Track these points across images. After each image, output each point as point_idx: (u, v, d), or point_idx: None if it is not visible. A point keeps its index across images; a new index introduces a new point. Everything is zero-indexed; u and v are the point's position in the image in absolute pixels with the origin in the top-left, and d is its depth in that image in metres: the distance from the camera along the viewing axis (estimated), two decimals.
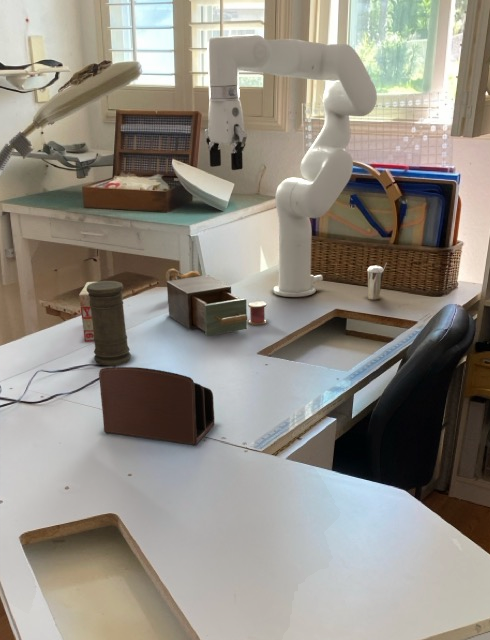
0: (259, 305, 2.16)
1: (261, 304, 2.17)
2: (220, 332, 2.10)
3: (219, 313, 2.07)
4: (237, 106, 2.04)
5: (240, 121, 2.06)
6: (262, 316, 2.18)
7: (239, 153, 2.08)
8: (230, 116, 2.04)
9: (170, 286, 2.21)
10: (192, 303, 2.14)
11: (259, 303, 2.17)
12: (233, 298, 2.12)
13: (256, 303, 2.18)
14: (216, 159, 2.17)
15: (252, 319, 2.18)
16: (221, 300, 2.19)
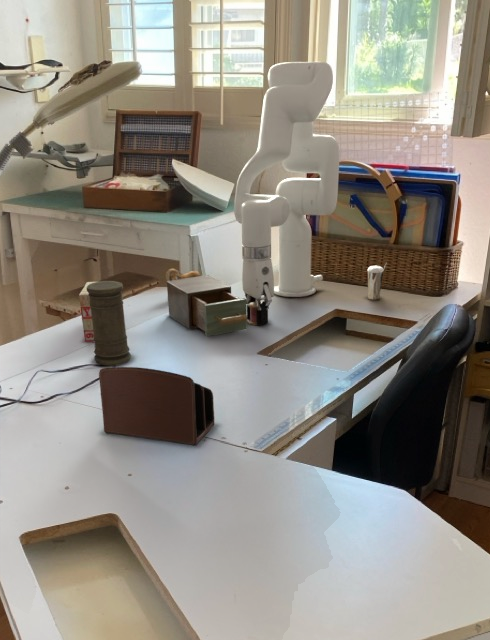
0: None
1: None
2: (220, 332, 2.10)
3: (219, 313, 2.07)
4: (267, 265, 2.08)
5: (270, 279, 2.10)
6: None
7: (264, 310, 2.15)
8: (260, 275, 2.09)
9: (170, 286, 2.21)
10: (192, 303, 2.14)
11: None
12: (233, 298, 2.12)
13: (256, 303, 2.18)
14: None
15: (252, 319, 2.18)
16: (221, 300, 2.19)
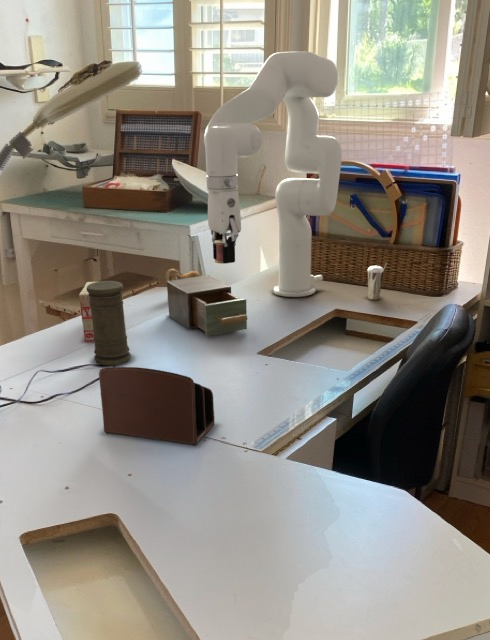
0: None
1: None
2: (220, 332, 2.10)
3: (219, 313, 2.07)
4: (233, 197, 1.96)
5: (236, 212, 1.97)
6: None
7: (231, 247, 2.02)
8: (225, 207, 1.96)
9: (170, 286, 2.21)
10: (192, 303, 2.14)
11: None
12: (233, 298, 2.12)
13: (222, 240, 2.05)
14: None
15: (218, 257, 2.05)
16: (221, 300, 2.19)
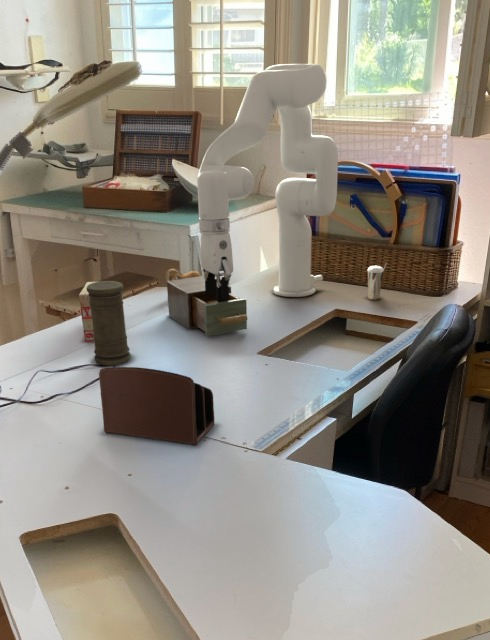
0: None
1: None
2: (220, 332, 2.10)
3: (219, 313, 2.07)
4: (225, 239, 1.99)
5: (228, 253, 2.01)
6: None
7: (224, 287, 2.05)
8: (217, 249, 2.00)
9: (170, 286, 2.21)
10: (192, 303, 2.14)
11: None
12: (233, 298, 2.12)
13: (215, 301, 2.12)
14: (212, 289, 2.12)
15: None
16: None
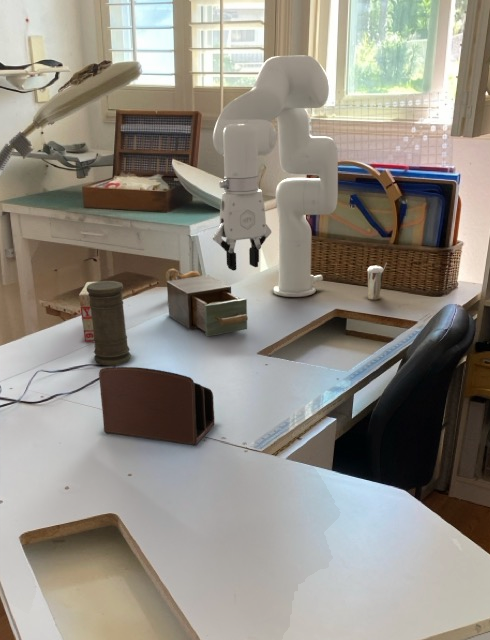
0: None
1: None
2: (220, 332, 2.09)
3: (219, 313, 2.07)
4: (224, 200, 1.83)
5: (224, 216, 1.84)
6: None
7: (228, 253, 1.90)
8: (220, 208, 1.86)
9: (170, 286, 2.21)
10: (192, 303, 2.14)
11: None
12: (233, 298, 2.12)
13: None
14: (252, 259, 1.93)
15: None
16: (221, 300, 2.19)
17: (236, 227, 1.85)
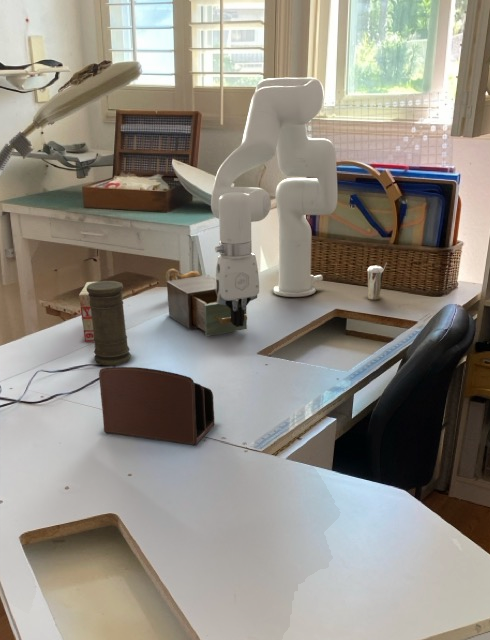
0: None
1: None
2: (220, 332, 2.10)
3: (219, 312, 2.07)
4: (219, 263, 1.93)
5: (220, 279, 1.94)
6: None
7: (232, 310, 2.01)
8: (216, 270, 1.96)
9: (170, 286, 2.21)
10: (192, 303, 2.14)
11: None
12: None
13: None
14: None
15: None
16: None
17: (231, 288, 1.95)
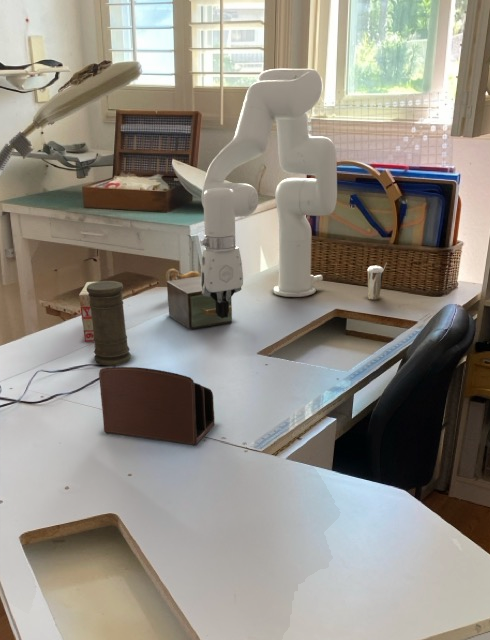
0: None
1: None
2: (206, 323, 2.17)
3: (204, 304, 2.14)
4: (204, 256, 2.00)
5: (205, 271, 2.01)
6: None
7: (217, 302, 2.08)
8: (201, 263, 2.03)
9: (170, 286, 2.21)
10: None
11: None
12: None
13: None
14: None
15: None
16: None
17: (216, 280, 2.02)
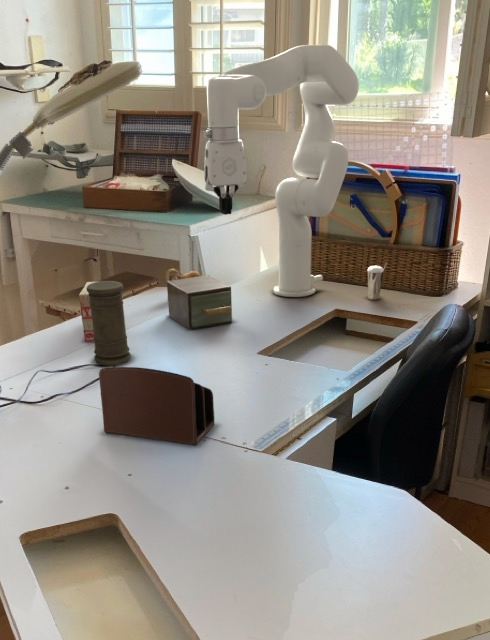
0: None
1: None
2: (206, 323, 2.17)
3: (204, 304, 2.14)
4: (208, 148, 2.00)
5: (208, 164, 2.02)
6: None
7: (220, 198, 2.08)
8: None
9: (170, 286, 2.21)
10: None
11: None
12: None
13: None
14: None
15: None
16: None
17: (219, 174, 2.02)
